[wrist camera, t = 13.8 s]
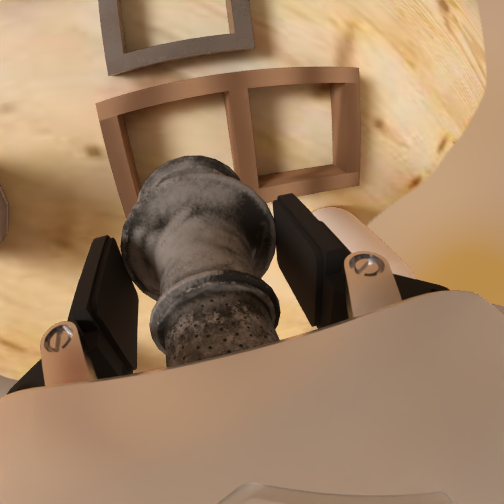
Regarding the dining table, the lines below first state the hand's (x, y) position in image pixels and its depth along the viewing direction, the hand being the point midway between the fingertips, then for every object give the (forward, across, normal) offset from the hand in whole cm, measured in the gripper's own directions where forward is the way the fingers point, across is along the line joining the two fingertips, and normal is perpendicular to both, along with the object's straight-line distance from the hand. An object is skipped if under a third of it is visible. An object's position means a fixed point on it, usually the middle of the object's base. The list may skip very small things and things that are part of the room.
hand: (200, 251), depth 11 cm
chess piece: (+4, 0, 0) cm, 4 cm away
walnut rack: (+18, -5, 0) cm, 19 cm away
